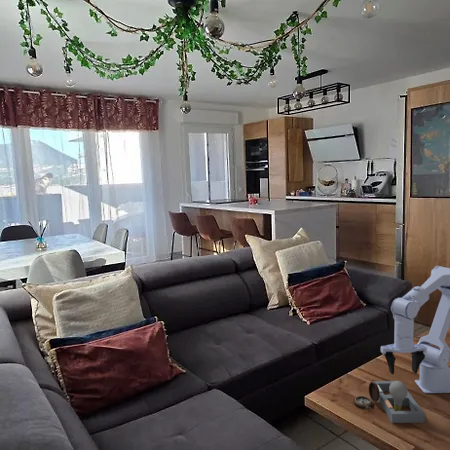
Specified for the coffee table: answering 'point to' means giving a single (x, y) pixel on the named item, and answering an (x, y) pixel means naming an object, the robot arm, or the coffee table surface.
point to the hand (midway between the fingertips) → (403, 372)
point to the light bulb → (398, 393)
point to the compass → (366, 402)
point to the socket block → (402, 416)
